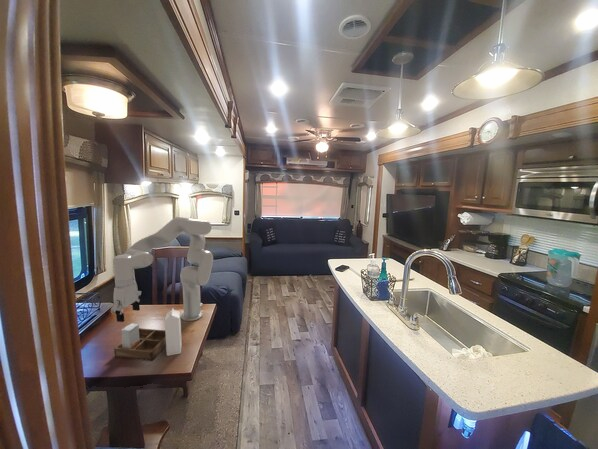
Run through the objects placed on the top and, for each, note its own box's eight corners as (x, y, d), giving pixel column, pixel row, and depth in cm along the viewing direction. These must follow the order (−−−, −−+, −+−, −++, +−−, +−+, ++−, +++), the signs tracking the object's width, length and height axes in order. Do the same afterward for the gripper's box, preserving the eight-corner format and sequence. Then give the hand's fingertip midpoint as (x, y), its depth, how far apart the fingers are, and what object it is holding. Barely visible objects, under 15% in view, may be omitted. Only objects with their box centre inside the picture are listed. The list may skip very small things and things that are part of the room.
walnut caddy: (139, 335, 133) (139, 328, 133) (172, 338, 132) (172, 331, 131) (114, 357, 117) (114, 348, 116) (152, 361, 116) (151, 352, 115)
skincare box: (130, 354, 118) (128, 331, 116) (122, 353, 119) (120, 330, 117) (140, 346, 124) (138, 324, 122) (133, 344, 125) (131, 322, 122)
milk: (166, 356, 119) (163, 313, 115) (168, 348, 125) (165, 307, 121) (180, 353, 121) (178, 311, 117) (182, 345, 127) (179, 305, 123)
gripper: (131, 273, 124) (134, 305, 127) (101, 289, 107) (105, 325, 110) (146, 274, 123) (148, 306, 126) (118, 290, 106) (122, 327, 109)
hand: (128, 315), depth 118 cm, fingers open, 9 cm apart
